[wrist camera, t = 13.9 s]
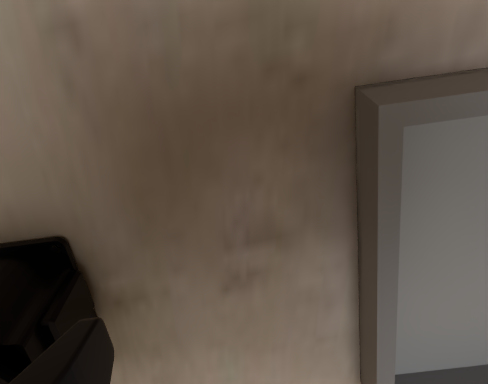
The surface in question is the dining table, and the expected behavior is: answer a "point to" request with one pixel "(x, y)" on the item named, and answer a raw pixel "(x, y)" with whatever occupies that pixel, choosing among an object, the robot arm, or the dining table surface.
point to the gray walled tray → (423, 229)
